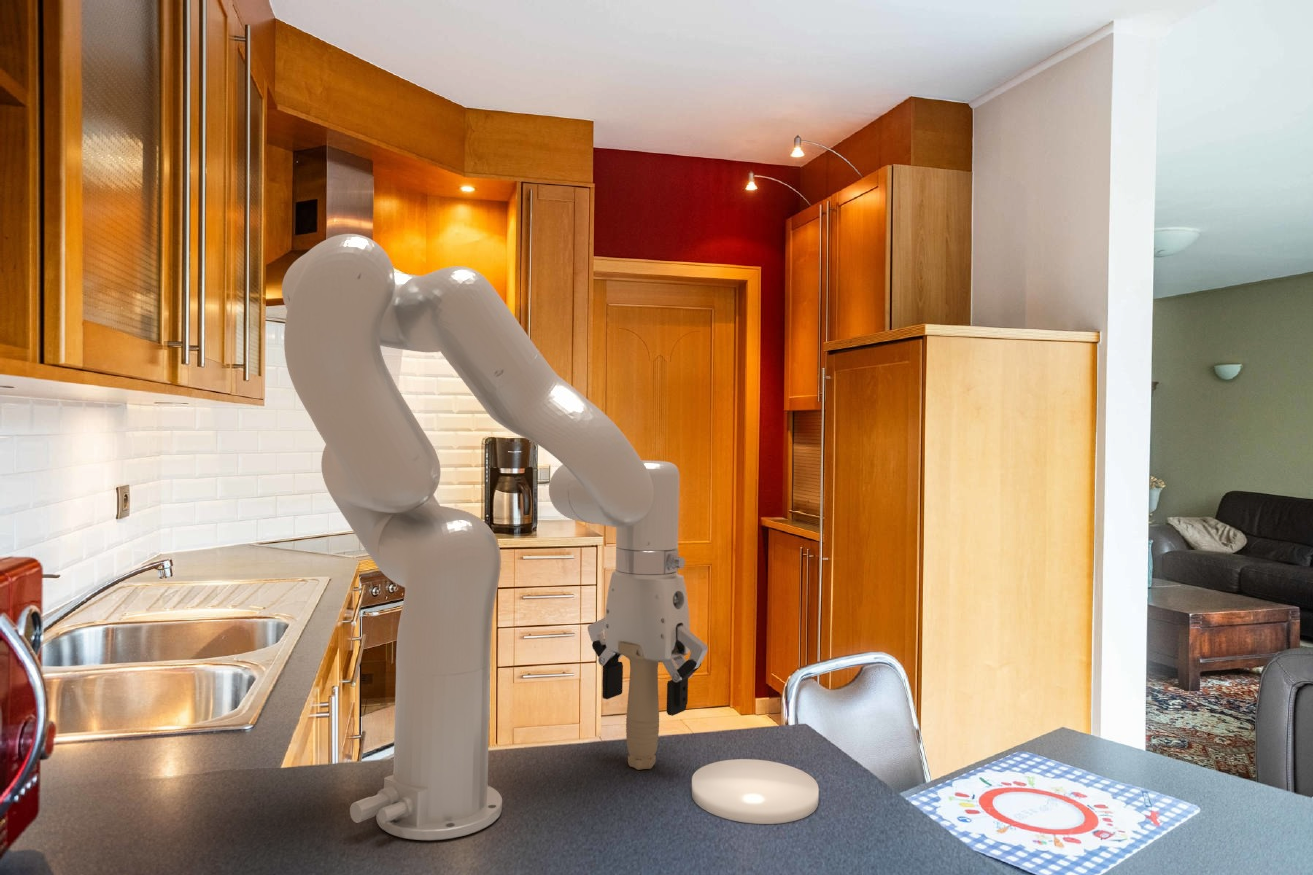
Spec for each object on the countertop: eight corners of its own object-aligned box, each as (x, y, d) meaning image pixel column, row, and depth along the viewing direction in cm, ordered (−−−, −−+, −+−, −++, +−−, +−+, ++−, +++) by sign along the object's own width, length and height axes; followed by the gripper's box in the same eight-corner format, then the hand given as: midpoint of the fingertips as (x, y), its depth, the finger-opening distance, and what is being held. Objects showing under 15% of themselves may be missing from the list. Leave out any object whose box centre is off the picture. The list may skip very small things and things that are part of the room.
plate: (780, 836, 85) (781, 821, 85) (666, 799, 94) (667, 785, 94) (839, 792, 97) (839, 779, 97) (732, 762, 105) (733, 750, 105)
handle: (662, 776, 100) (665, 648, 100) (610, 769, 102) (613, 643, 102) (672, 761, 105) (675, 639, 105) (622, 755, 106) (625, 635, 106)
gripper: (724, 566, 101) (720, 711, 101) (610, 553, 112) (607, 684, 111) (688, 574, 95) (685, 727, 95) (572, 558, 105) (569, 697, 105)
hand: (643, 704), depth 103 cm, fingers open, 9 cm apart
